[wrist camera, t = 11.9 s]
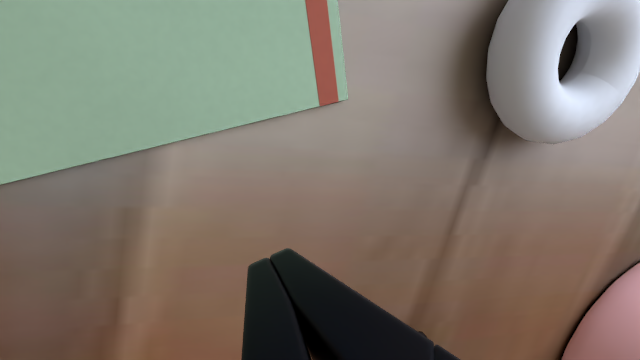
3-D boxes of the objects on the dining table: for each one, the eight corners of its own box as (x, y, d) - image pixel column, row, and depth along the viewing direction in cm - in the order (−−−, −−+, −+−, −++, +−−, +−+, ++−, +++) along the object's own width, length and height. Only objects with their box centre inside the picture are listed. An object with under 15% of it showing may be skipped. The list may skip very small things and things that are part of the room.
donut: (524, -85, 20) (444, 109, 22) (591, -103, 17) (491, 123, 19) (627, -1, 25) (553, 153, 27) (694, -4, 22) (605, 170, 24)
